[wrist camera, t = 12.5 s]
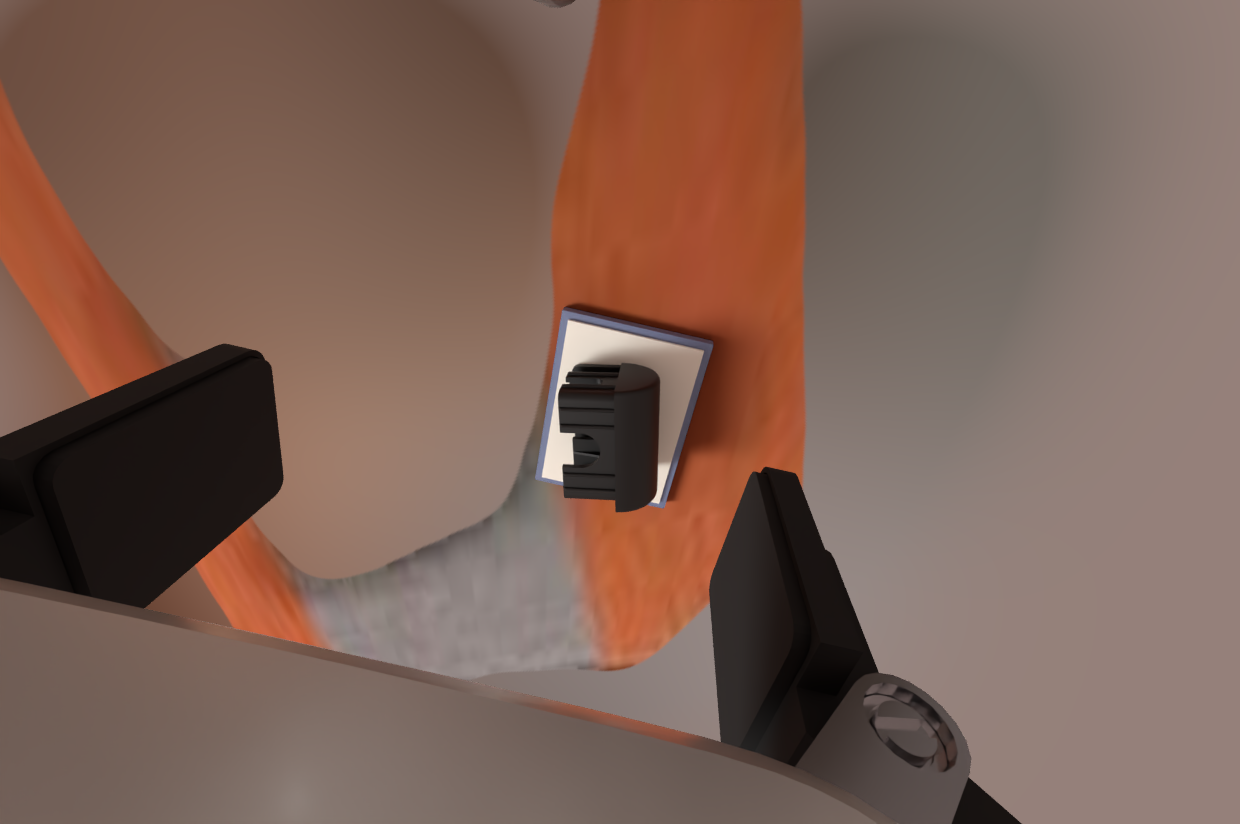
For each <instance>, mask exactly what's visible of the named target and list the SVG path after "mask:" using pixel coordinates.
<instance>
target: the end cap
mask: <svg viewBox="0 0 1240 824" xmlns="http://www.w3.org/2000/svg"><path fill="white" fill-rule="evenodd" d="M566 382H567V383H569V384H562V386H561V388H560V390H559V393H558V411H559V426H560V433H575V437H574V436H573V439H572V441H573V460H574V465H573V464H563V466H562V473H563V488H564V497H565V498H578V499H599V500H615V506H616V512H629V511H633V510H637V509H640V508H642V507H644V506H646V505H648V504H649V503H650V502H651V501H652V500H653V499H654V498H655V496H656V493H657V485H658V448H659V412H660V377H659V375H658V374H657V373H656V372H655V371H654V370H652V369H650V368H648V367H645V366H642V365H637V364H631V363H621V365H602V364H577V365H575V366H574V367H573V369H572V372H570V371H569V372H568V374H567V376H566Z"/></svg>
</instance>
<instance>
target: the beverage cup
mask: <svg viewBox="0 0 1240 824" xmlns="http://www.w3.org/2000/svg"><path fill="white" fill-rule="evenodd" d="M535 1H537V2H539V3H541V4H544V5H546V6H549V7H563V6H566V5H569V4H571V3H572V2H574V1H575V0H535Z"/></svg>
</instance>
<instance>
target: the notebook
mask: <svg viewBox="0 0 1240 824" xmlns="http://www.w3.org/2000/svg"><path fill="white" fill-rule="evenodd" d="M712 348H713V341H711V340H707V339H703V338H698V337H694V336H690V335H685V334H681V333H677V332H672V331H668V330H663V329H659V328H655V327H650V326H646V325H642V324H637V323H633V322H629V321H624V320H620V319H616V318H611V317H607V316H603V315H598V314H594V313H590V312H585V311H581V310H577V309H572V308H568V307H564V309H563V310H562V316H561V322H560V328H559V334H558V340H557V347H556V353H555V359H554V365H553V371H552V378H551V384H550V390H549V396H548V402H547V409H546V415H545V421H544V427H543V434H542V440H541V446H540V452H539V458H538V465H537V471H536V477H535V479H536V480H540V481H545V482H549V483H553V484H558V485H562V486H563V473H562V466H563V464H573V465H574V460H573V441H572V439H573V436H574V437H575V433H560V426H559V411H558V393H559V390H560V388H561V386H562V384H569V383H567V382H566V376H567V374H568V372H569V371H570V372H572V369H573V367H574V366H575V365H577V364H602V365H621V363H631V364H637V365H642V366H645V367H648V368H650V369H652V370H654V371H655V372H656V373H657V374H658V375H659V377H660V412H659V448H658V485H657V493H656V496H655V498H654V499H653V500H652V501H651V502H650V503H649V504H648V505H650V506H654V507H659V508H663V509H664V507H665V504H666V500H667V497H668V494H669V490H670V487H671V484H672V480H673V477H674V474H675V471H676V467H677V464H678V461H679V457H680V454H681V451H682V447H683V444H684V441H685V437H686V434H687V431H688V428H689V424H690V421H691V418H692V414H693V411H694V408H695V404H696V401H697V398H698V395H699V391H700V388H701V385H702V381H703V378H704V375H705V371H706V368H707V365H708V361H709V358H710V355H711V352H712Z"/></svg>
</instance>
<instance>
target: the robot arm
mask: <svg viewBox="0 0 1240 824" xmlns="http://www.w3.org/2000/svg"><path fill="white" fill-rule="evenodd" d="M282 484H283V467H282V458H281V449H280V439H279V430H278V422H277V412H276V403H275V394H274V384H273V375H272V369H271V365H270V364H269V362H267V361H266V360H265V359H264V357H263V355H262V354H261V353H260V352H258V351H256V350H251V349H247V348H243V347H238V346H234V345H230V344H221V345H218V346H215V347H213V348H211V349H208V350H206V351H204V352H201V353H199V354H196V355H194V356H192V357H190V358H187V359H185V360H182V361H180V362H177V363H175V364H173V365H170V366H168V367H166V368H163V369H161V370H159V371H156V372H154V373H151V374H149V375H147V376H144V377H142V378H140V379H137V380H135V381H133V382H130V383H128V384H125V385H123V386H121V387H118V388H116V389H114V390H111V391H109V392H107V393H104V394H102V395H99V396H97V397H95V398H92V399H90V400H88V401H85V402H83V403H81V404H78V405H76V406H73V407H71V408H69V409H66V410H64V411H62V412H59V413H57V414H55V415H52V416H50V417H47V418H45V419H43V420H40V421H38V422H36V423H33V424H31V425H29V426H26V427H24V428H22V429H19V430H17V431H14V432H12V433H10V434H7V435H5V436H3V437H0V824H1021V823H1020V822H1019V821H1018V820H1017V819H1016V818H1015V817H1013V816H1012V815H1011V814H1010V813H1009V812H1008V811H1007V810H1005V809H1004V808H1003V807H1002V806H1001V805H1000V804H999V803H997V802H996V801H995V800H994V799H993V798H992V797H991V796H989V795H988V794H987V793H985V791H984V790H982V789H981V788H980V787H979V786H978V785H977V784H976V783H974V782H973V781H972V780H971V779H970V778H969V773H970V766H971V756H970V752H969V749H968V746H967V742H966V740H965V738H964V736H963V734H962V732H961V731H960V729H959V727H958V725H957V724H956V722H955V721H954V720H953V719H952V718H951V716H950V715H949V714H948V713H947V712H946V710H945V709H944V708H943V707H942V706H941V705H940V704H939V703H938V702H937V701H935V700H934V699H933V698H932V697H931V696H930V695H929V694H927V693H926V692H925V691H923V690H922V689H920V688H918V687H917V686H915V685H914V684H912V683H910V682H909V681H906V680H904V679H901V678H899V677H896V676H894V675H890V674H883V673H879V672H878V669H877V667H876V664H875V662H874V659H873V657H872V654H871V652H870V649H869V647H868V644H867V642H866V639H865V637H864V634H863V631H862V629H861V626H860V624H859V621H858V619H857V616H856V613H855V611H854V608H853V606H852V603H851V601H850V598H849V595H848V593H847V590H846V588H845V586H844V583H843V580H842V578H841V575H840V573H839V570H838V568H837V565H836V562H835V560H834V558H833V556H832V554H831V553H830V552H829V551H827V550H825V548H824V546H823V543H822V540H821V537H820V535H819V532H818V530H817V527H816V524H815V522H814V519H813V516H812V514H811V511H810V508H809V506H808V503H807V500H806V498H805V495H804V492H803V490H802V487H801V485H800V482H799V479H798V477H797V475H796V474H795V473H792V472H788V471H783V470H779V469H774V468H770V467H765V468H763V470H762V471H761V473H758V472H752V474H751V475H750V477H749V480H748V482H747V485H746V487H745V490H744V493H743V495H742V498H741V500H740V503H739V506H738V508H737V511H736V513H735V516H734V519H733V521H732V524H731V526H730V529H729V532H728V534H727V537H726V539H725V542H724V544H723V547H722V550H721V552H720V555H719V557H718V560H717V563H716V565H715V568H714V570H713V573H712V576H711V580H710V588H709V596H710V608H711V621H712V634H713V647H714V658H715V672H716V685H717V698H718V711H719V723H720V736H721V742H719V741H715V740H712V739H708V738H705V737H702V736H698V735H694V734H689V733H685V732H681V731H678V730H674V729H669V728H665V727H661V726H657V725H653V724H649V723H645V722H641V721H637V720H633V719H629V718H625V717H621V716H617V715H613V714H609V713H605V712H601V711H596V710H593V709H588V708H584V707H580V706H575V705H570V704H567V703H562V702H558V701H553V700H549V699H545V698H540V697H536V696H532V695H527V694H523V693H519V692H514V691H510V690H505V689H501V688H497V687H492V686H488V685H483V684H479V683H475V682H471V681H466V680H462V679H458V678H453V677H449V676H444V675H440V674H436V673H431V672H427V671H423V670H418V669H414V668H409V667H405V666H400V665H396V664H392V663H387V662H383V661H378V660H374V659H369V658H365V657H360V656H356V655H351V654H347V653H342V652H338V651H334V650H329V649H325V648H320V647H316V646H311V645H307V644H302V643H298V642H293V641H289V640H284V639H280V638H275V637H271V636H266V635H262V634H257V633H253V632H248V631H244V630H239V629H235V628H230V627H225V626H221V625H217V624H212V623H208V622H202V621H199V620H194V619H189V618H184V617H180V616H175V615H171V614H166V613H162V612H157V611H153V610H148V609H144V608H145V607H146V606H148V605H149V604H150V603H151V602H152V601H154V600H155V599H156V598H157V597H158V596H159V595H160V594H162V593H163V592H164V591H165V590H166V589H167V588H169V587H170V586H171V585H172V584H173V583H174V582H176V581H177V580H178V579H179V578H180V577H181V576H182V575H184V574H185V573H186V572H187V571H188V570H190V569H191V568H192V567H193V566H194V565H195V564H197V563H198V562H199V561H200V560H201V559H202V558H204V557H205V556H206V555H207V554H208V553H209V552H211V551H212V550H213V549H214V548H215V547H216V546H217V545H219V544H220V543H221V542H222V541H223V540H224V539H226V538H227V537H228V536H229V535H230V534H231V533H233V532H234V531H235V530H236V529H237V528H238V527H240V526H241V525H242V524H243V523H244V522H245V521H247V520H248V519H249V518H250V517H251V516H252V515H253V514H255V513H256V512H257V511H258V510H259V509H260V508H262V507H263V506H264V505H265V504H266V503H267V502H268V501H270V500H271V499H272V498H273V497H274V496H275V495H276V494H277V493H278V492H279V490H280V489H281V486H282Z"/></svg>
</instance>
